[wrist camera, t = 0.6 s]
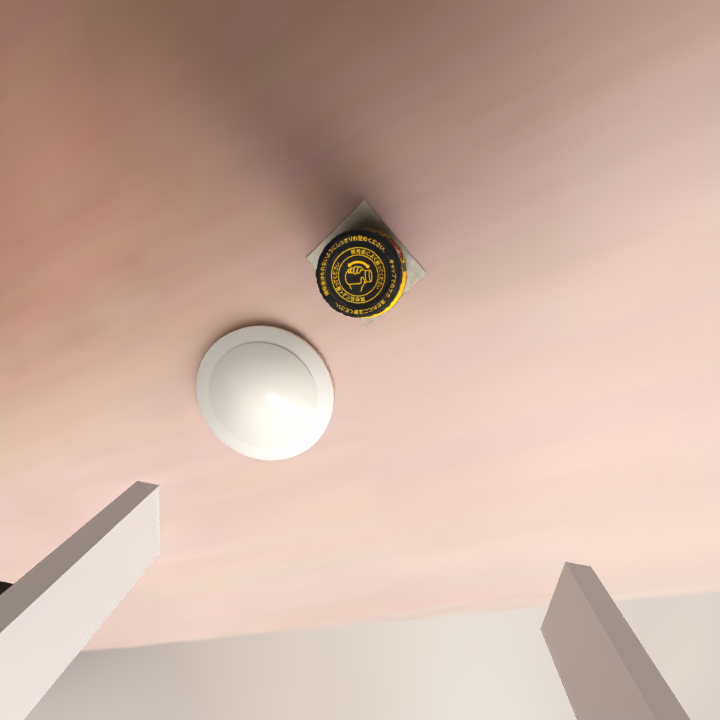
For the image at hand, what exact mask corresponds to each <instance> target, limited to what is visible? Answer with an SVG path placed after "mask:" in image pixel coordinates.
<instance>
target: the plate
mask: <svg viewBox="0 0 720 720" xmlns="http://www.w3.org/2000/svg"><path fill="white" fill-rule="evenodd" d="M196 395H197V401H198V405H199V408H200V411H201V413H202V416H203V418H204V420H205V421H206V423H207V425H208V426H209V428H210V429H211V430H212V432H213V433H214V434H215V435H216V436H217V437H218V438H219V439H220V440H221V441H222V442H223V443H224V444H226V445H227V446H229V447H230V448H232V449H233V450H235V451H237V452H239V453H241V454H243V455H246V456H248V457H252V458H256V459H262V460H280V459H286V458H290V457H293V456H295V455H298V454H300V453H302V452H304V451H305V450H307V449H308V448H310V447H311V446H312V445H313V444H314V443H315V442H316V441H317V440H318V439H319V438H320V437H321V435H322V434H323V433H324V431H325V429H326V427H327V425H328V423H329V421H330V418H331V415H332V412H333V407H334V398H335V396H334V385H333V380H332V377H331V374H330V371H329V369H328V367H327V365H326V363H325V361H324V360H323V358H322V357H321V355H320V354H319V353H318V352H317V351H316V349H315V348H314V347H313V346H312V345H310V344H309V343H308V342H307V341H306V340H304V339H303V338H301V337H300V336H298V335H296V334H295V333H293V332H291V331H288V330H285V329H283V328H279V327H275V326H267V325H255V326H249V327H245V328H241V329H238V330H235V331H233V332H231V333H229V334H227V335H225V336H223V337H222V338H220V339H219V340H218V341H217V342H215V343H214V344H213V345H212V346H211V348H210V349H209V350H208V351H207V353H206V354H205V356H204V358H203V359H202V361H201V364H200V366H199V370H198V373H197V380H196Z"/></svg>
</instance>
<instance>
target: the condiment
mask: <svg viewBox="0 0 720 720" xmlns="http://www.w3.org/2000/svg"><path fill="white" fill-rule="evenodd" d="M306 259H307V260H308V261H309V263H310V264H311V265H312V266H313V267H314V268H315V269H316V278H317V284H318V287H319V289H320V291H319V292H320V293H321V294H322V296H323V299H325V300H326V302H327V303H328V304H329V305H330V306H331V307H332V308H333V309H335V310H336V311H338V312H340V313H343V314H344V315H347V316H350V317H355V318H360V319H361V321H362V322H363V323H364V324H365V325H366V326H368V325H369V324H371V323H372V322H373V321H374V320H375V319H376V318H377V317H378V316H380V315H381V314H383V313H384V312H386V311H388V310H389V309H391V308H392V307H393V306H394V305H395V304H396V303H397V302H398V300H399V299H400V297H401V296H402V295H403V294H404V293H405V292H407V291H408V290H409V289H410V288H411V287H412V286H413V285H415V284H416V283H417V282H418V281H419V280H420V279H421V278H422V277H424V276H425V275H426V274H427V273H426V272H425V271H424V270H423V269H422V267H421V266H420V265H419V264H418V263H417V262H416V260H415V259H414V258H413V257H412V256H411V255H410V253H409V252H408V251H407V250H406V249H405V247H404V246H403V245H402V244H401V243H400V242H399V240H398V239H397V238H396V237H395V236H394V234H393V233H392V232H391V231H390V230H389V229H388V227H387V226H386V225H385V224H384V222H383V221H382V220H381V219H380V218H379V217H378V216H377V214H376V213H375V212H374V211H373V210H372V208H371V207H370V206H369V205H368V204H367V202H366V201H365V200H363V201H362V202H361V203H360V204H359V205H358V207H357V208H356V209H355V210H354V211H353V212H352V213H351V214H350V215H349V216H348V217H347V218H346V219H345V220H344V221H343V222H342V223H341V224H340V225H339V226H338V227H337V228H336V229H335V230H334V231H333V232H332V233H331V234H330V235H329V236H328V237H327V238H326V239H325V240H324V241H323V242H322V243H321V244H320V245H319V246H318V247H317V248H316V249H315V250H314V251H313V252H312V253H311V254H310V255H309V256H308V257H307V258H306Z"/></svg>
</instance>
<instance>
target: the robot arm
mask: <svg viewBox="0 0 720 720" xmlns="http://www.w3.org/2000/svg"><path fill="white" fill-rule="evenodd" d="M159 554H160V494H159V485H155V484H150V483H145V482H139V481H137V482H136V483H134V484H133V485H132V486H131V487H130V488H128V489H127V490H126V491H125V492H124V493H122V494H121V495H120V496H119V497H118V498H116V499H115V500H114V501H113V502H112V503H110V504H109V505H108V506H107V507H106V508H104V509H103V510H102V511H101V512H100V513H98V514H97V515H96V516H95V517H94V518H92V519H91V520H90V521H89V522H88V523H86V524H85V525H84V526H83V527H82V528H80V529H79V530H78V531H77V532H76V533H74V534H73V535H72V536H71V537H70V538H68V539H67V540H66V541H65V542H64V543H62V544H61V545H60V546H59V547H58V548H56V549H55V550H54V551H53V552H52V553H50V554H49V555H48V556H47V557H46V558H44V559H43V560H42V561H41V562H40V563H38V564H37V565H36V566H35V567H34V568H32V569H31V570H30V571H29V572H28V573H26V574H25V575H24V576H23V577H22V578H20V579H19V580H18V581H17V582H16V583H14V584H11V583H6V582H1V581H0V720H24V719H25V718H26V716H27V715H28V714H29V713H30V711H31V710H32V709H33V708H34V706H35V705H36V704H37V703H38V702H39V700H40V699H41V698H42V697H43V696H44V694H45V693H46V692H47V691H48V689H49V688H50V687H51V686H52V685H53V683H54V682H55V681H56V680H57V678H58V677H59V676H60V675H61V674H62V672H63V671H64V670H65V669H66V668H67V666H68V665H69V664H70V663H71V661H72V660H73V659H74V658H75V657H76V655H77V654H78V653H79V652H80V650H81V649H82V648H83V647H84V646H85V644H86V643H87V642H88V641H89V639H90V638H91V637H92V636H93V635H94V633H95V632H96V631H97V630H98V628H99V627H100V626H101V625H102V624H103V622H104V621H105V620H106V619H107V617H108V616H109V615H110V614H111V613H112V611H113V610H114V609H115V608H116V606H117V605H118V604H119V603H120V602H121V600H122V599H123V598H124V597H125V595H126V594H127V593H128V592H129V591H130V589H131V588H132V587H133V586H134V584H135V583H136V582H137V581H138V580H139V578H140V577H141V576H142V575H143V573H144V572H145V571H146V570H147V569H148V567H149V566H150V565H151V564H152V563H153V561H154V560H155V559H156V558H157V556H158V555H159ZM541 631H542V633H543V636H544V638H545V641H546V643H547V646H548V648H549V651H550V653H551V655H552V658H553V661H554V663H555V666H556V668H557V670H558V673H559V676H560V678H561V681H562V683H563V686H564V688H565V691H566V693H567V696H568V698H569V701H570V703H571V706H572V708H573V711H574V713H575V716H576V718H577V720H690V718H689V717H688V715H687V714H686V712H685V711H684V709H683V708H682V706H681V705H680V703H679V702H678V700H677V698H676V697H675V695H674V694H673V692H672V691H671V689H670V688H669V686H668V685H667V683H666V682H665V680H664V679H663V677H662V675H661V674H660V672H659V671H658V669H657V668H656V666H655V665H654V663H653V662H652V660H651V659H650V657H649V655H648V654H647V653H646V651H645V649H644V648H643V646H642V645H641V643H640V642H639V640H638V638H637V637H636V636H635V634H634V632H633V631H632V629H631V628H630V626H629V625H628V623H627V622H626V620H625V619H624V617H623V615H622V614H621V612H620V611H619V609H618V608H617V606H616V605H615V603H614V602H613V600H612V598H611V597H610V595H609V594H608V592H607V591H606V589H605V588H604V586H603V585H602V583H601V582H600V580H599V578H598V577H597V575H596V574H595V572H594V571H593V569H592V568H591V567H590V566H584V565H579V564H574V563H569V562H565V565H564V567H563V570H562V573H561V575H560V578H559V581H558V584H557V586H556V589H555V592H554V594H553V597H552V600H551V602H550V605H549V608H548V611H547V614H546V616H545V619H544V622H543V624H542V627H541Z"/></svg>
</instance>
